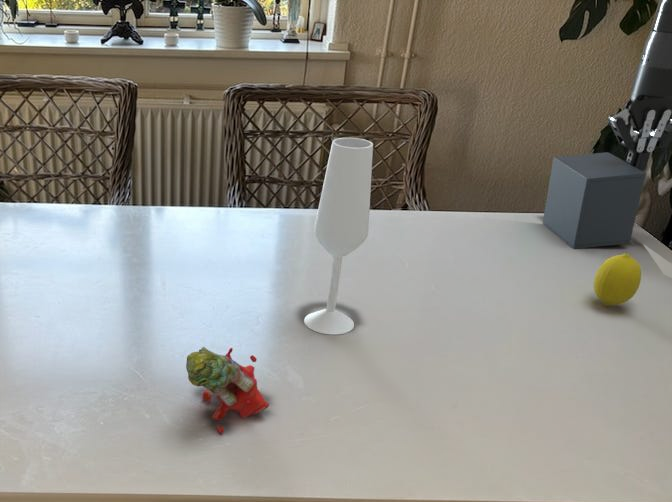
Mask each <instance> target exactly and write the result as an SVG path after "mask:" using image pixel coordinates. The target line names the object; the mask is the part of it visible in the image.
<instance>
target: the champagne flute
mask: <svg viewBox="0 0 672 502" xmlns="http://www.w3.org/2000/svg"><path fill="white" fill-rule="evenodd" d="M373 153H374V143H373V142H372V141H370V140H367V139H364V138H358V137H338V138H334V139H333V140H332V141H331V146H330V151H329V156H328V161H327V165H326V170H325V174H324V180H323V185H322V189H321V193H320V198H319V203H318V208H317V212H316V217H315V223H314V227H313V232H314V235H315V237H316V239H317V241H318V243H319V244H320V246H322V247H323V249H324V250H325V251H326V252H327V253H328V254H329V255H331V256H332V260H331V261H332V262H331V269H330V277H329V285H328V293H327V299H326V308H323V309H320V310H316V311H313V312H311V313H308V314H307V315H306V316H305V317H304V319H303V323H304V325H305V326H306V327H307V328H309V329H310V330H312V331H314V332H316V333H319V334H323V335H335V336H337V335H343V334H347V333H349V332H351V331H352V330H353V329H354V328H355V322H354V321H353V319H351V318H350V317H349V316H347V315H346V314H343V313H342V312H340V311H338V310H337V309H336V306H337V300H338V299H337V298H338V291H339V284H340V277H341V270H342V261H343V257H346V256H348V255H350V254H352V253H353V252H355V251H356V250H357V249H358V248H360V246H362V245H363V244H364V242H365V241H366V240H367V239H368V237H369V236H368V235H369V230H370V229H369V228H370V227H369V226H370V212H371V211H370V210H371V209H370V207H371V193H372V192H371V191H372V175H373V174H372V172H373V156H374V155H373Z"/></svg>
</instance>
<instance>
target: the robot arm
mask: <svg viewBox="0 0 672 502" xmlns="http://www.w3.org/2000/svg"><path fill="white" fill-rule="evenodd" d="M607 121H608V123H609V126H610V128H611V129H612V131H613V134H614V136H615V137H616V139H617V141H618V144H619V145H620V146H623V147H624V148H627V149H628V153H627V156H626V160H625V162H627V163H628V164H630V165H632V166H634V167H636V168H638V169H639V170H641V171H643V172H644V171H645V170H646V168H647V166H648V162H649V159H650V156H651V153H652V152H653V151H654V150H656V149H664V148H666V146H668V144H670V143H671V142H672V0H659V1H658V4H657V7H656V11H655V14H654V17H653V20H652V24H651V27H650V30H649V33H648V35H647V38H646V40H645V43H644V46H643V49H642V52H641V55H640V59H639V62H638V65H637V69H636V72H635V75H634V80H633V83H632V87H631V95H630V98H629V99H628V100H627V102H626V104H625V106H624V109H622V110H621V111H619V112H618V113H616V114H614V113H612V114H611V113H610V115H609V116H608V117H607ZM629 122H630V128H628V124H629ZM629 129H630V130H629Z"/></svg>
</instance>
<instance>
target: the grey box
mask: <svg viewBox="0 0 672 502" xmlns="http://www.w3.org/2000/svg"><path fill="white" fill-rule="evenodd" d="M646 176H647V173H646V172H644V171H641V170H639V169H638V168H636V167H634V166H632V165H630V164H628V163H627V162H626V160H623V159H621V158H619V157H618V156H616V155H614V154H612V153H610V152H608V151H607V152H606V151H605V152H597V153H595V152H594V153H584V154H575V155H563V156H554V157H553V159H552V166H551V170H550V177H549V181H548V182H549V183H548V189H547V195H546V201H545V205H544V206H545V207H544V211H543V218H542V224H543V225H544V226H545V227H547V228H548V229H549V230H550V231H551V232H553V233H554V234H555V235H556V236H557V237H559V238H560V239H561V240H562V241H563V242H565V243H566V244H567V246H569V247H570V248H572V249H573V250H574V249H575V250H576V249H584V248H585V249H586V248H597V247H598V248H599V247H608V246H619V245H630V243H631V238H632V234H633V231H634V230H633V229H634V226H635V222H636V218H637V214H638V209H639V206H640V201H641V196H642V193H643V190H644V189H643V188H644V185H645V184H644V183H645V180H646Z"/></svg>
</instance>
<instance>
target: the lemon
mask: <svg viewBox="0 0 672 502" xmlns="http://www.w3.org/2000/svg"><path fill="white" fill-rule="evenodd" d="M641 281H642V268H641V265H640V264H639V262H638V261H637V260H636V259H635V258H633V257H631V256H630V254H628V253H623V254H617V255H613V256H611V257H608V258H607V259H605V261H603V263H602V264H601V265H600V266H599V268H598V270H597V272H596V273H595V276H594V280H593V291H594V293H595V296H596V297H597V298H598V299H599V300H600V301H602V302H603V303H604V305H605V306H606V307H613V306H615V305H621V304H625V303H626V302H628V301H630V300H631V299H632V298H633V297H634V296H635V295H636V293H637V292H638V290H639V287H640V285H641Z"/></svg>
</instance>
